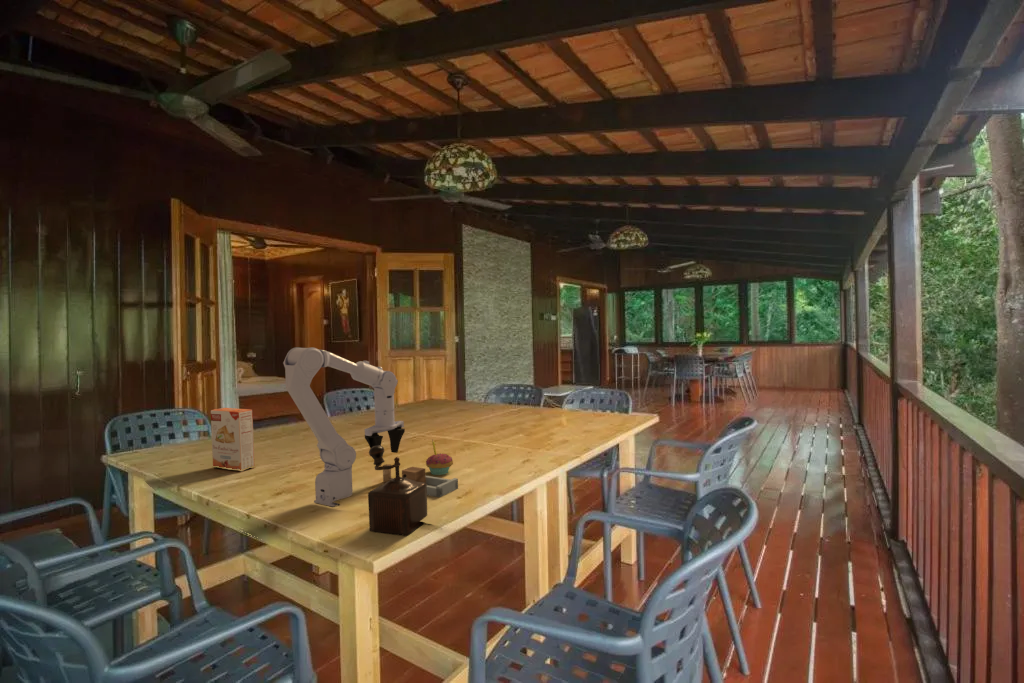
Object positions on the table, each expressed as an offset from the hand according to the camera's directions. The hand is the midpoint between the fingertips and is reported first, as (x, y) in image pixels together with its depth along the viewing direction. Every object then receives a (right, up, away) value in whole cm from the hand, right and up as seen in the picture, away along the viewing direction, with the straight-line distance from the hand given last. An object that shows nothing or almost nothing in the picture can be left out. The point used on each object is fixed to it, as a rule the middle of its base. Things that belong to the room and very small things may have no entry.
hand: (385, 455), depth 150 cm
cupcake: (+15, -9, +9) cm, 20 cm away
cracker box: (-59, -10, +24) cm, 65 cm away
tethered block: (+6, -8, -3) cm, 10 cm away
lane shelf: (+13, -9, -7) cm, 17 cm away
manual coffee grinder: (+9, -10, -30) cm, 33 cm away
